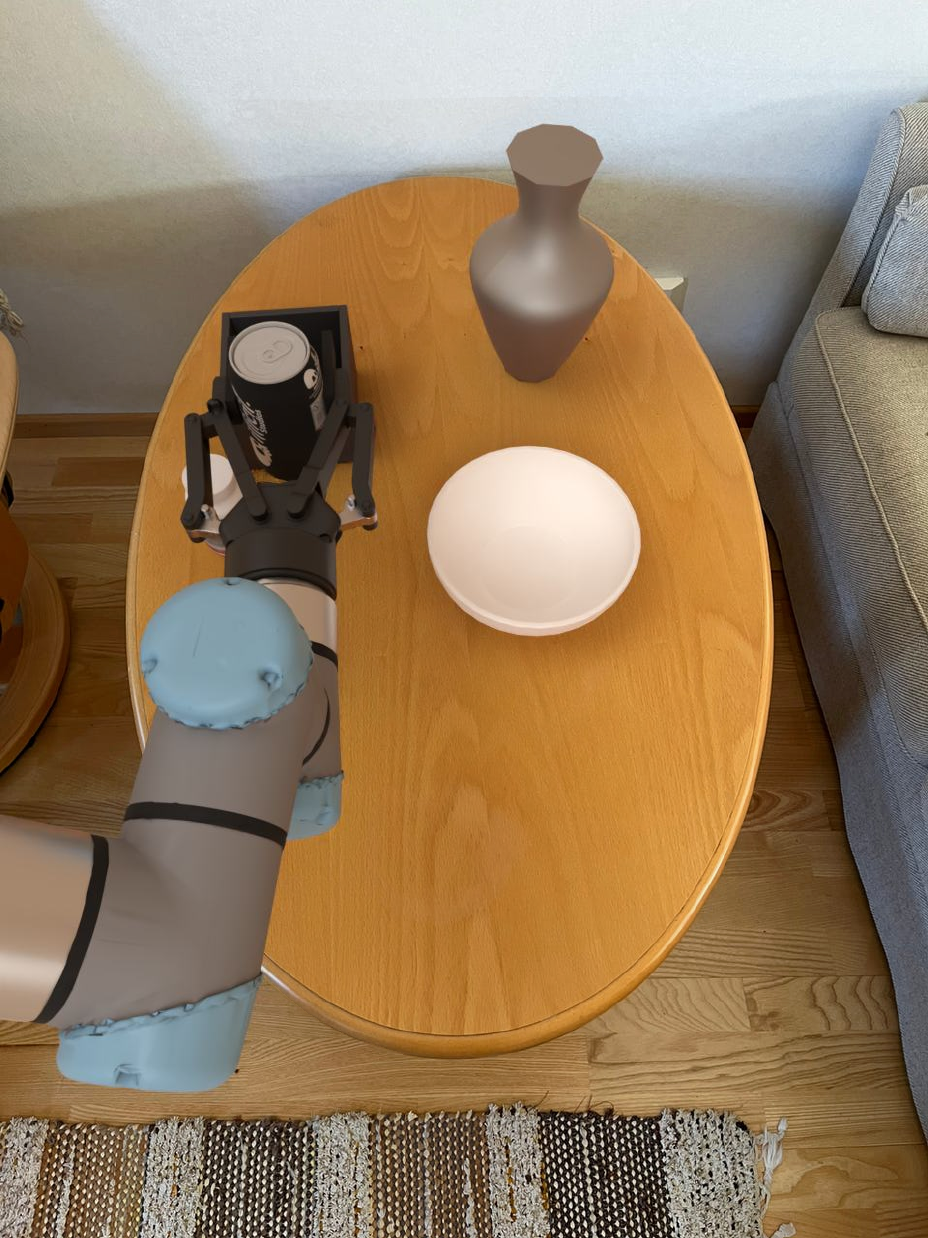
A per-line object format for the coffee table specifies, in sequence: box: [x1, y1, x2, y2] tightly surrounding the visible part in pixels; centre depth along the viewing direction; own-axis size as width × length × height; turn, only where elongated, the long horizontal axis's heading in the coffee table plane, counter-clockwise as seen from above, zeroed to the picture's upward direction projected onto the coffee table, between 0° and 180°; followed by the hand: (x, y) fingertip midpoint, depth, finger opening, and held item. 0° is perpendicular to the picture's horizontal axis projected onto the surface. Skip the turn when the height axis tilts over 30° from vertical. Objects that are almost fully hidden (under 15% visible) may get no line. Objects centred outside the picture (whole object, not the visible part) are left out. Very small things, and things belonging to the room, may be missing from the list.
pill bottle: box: [181, 453, 243, 557], centre depth 80 cm, size 6×6×10 cm
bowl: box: [426, 445, 642, 637], centre depth 80 cm, size 20×20×7 cm
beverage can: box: [228, 321, 327, 482], centre depth 65 cm, size 7×7×12 cm
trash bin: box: [219, 304, 359, 471], centre depth 87 cm, size 13×13×10 cm
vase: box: [468, 123, 615, 383], centre depth 84 cm, size 14×14×25 cm
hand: (282, 346), depth 66 cm, fingers closed on beverage can, 7 cm apart
